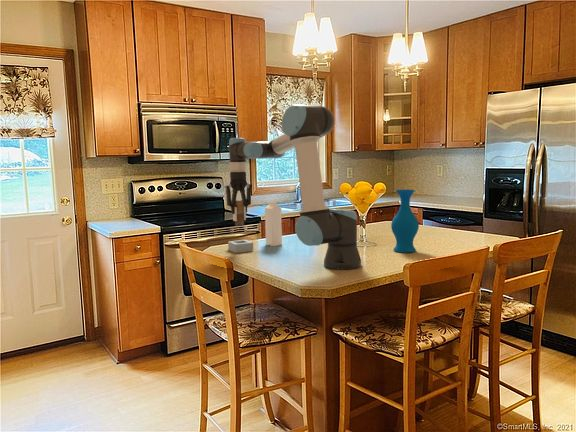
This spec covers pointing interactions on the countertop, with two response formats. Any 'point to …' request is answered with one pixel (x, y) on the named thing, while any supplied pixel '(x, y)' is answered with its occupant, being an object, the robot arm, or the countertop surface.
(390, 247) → the countertop surface
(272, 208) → the milk
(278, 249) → the countertop surface
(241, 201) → the peg
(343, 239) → the robot arm
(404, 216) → the vase
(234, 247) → the socket block
